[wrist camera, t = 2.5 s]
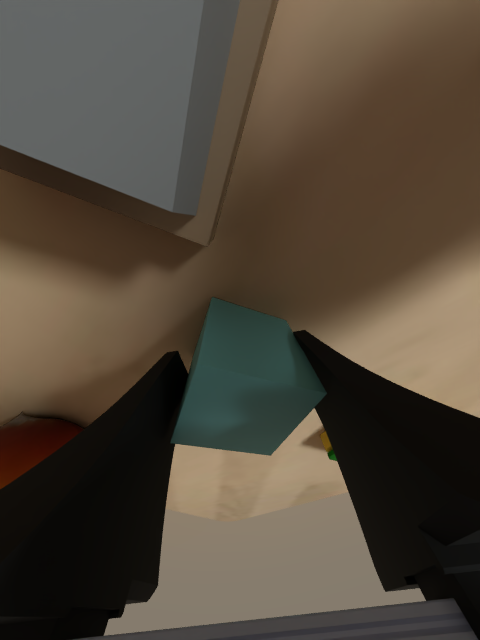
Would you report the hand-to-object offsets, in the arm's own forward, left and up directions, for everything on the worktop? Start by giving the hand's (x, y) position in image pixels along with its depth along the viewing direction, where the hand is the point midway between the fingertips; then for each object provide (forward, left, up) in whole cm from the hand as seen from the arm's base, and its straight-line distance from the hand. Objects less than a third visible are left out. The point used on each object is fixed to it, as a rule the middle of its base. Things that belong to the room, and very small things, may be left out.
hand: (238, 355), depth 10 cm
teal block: (0, 0, -1) cm, 1 cm away
